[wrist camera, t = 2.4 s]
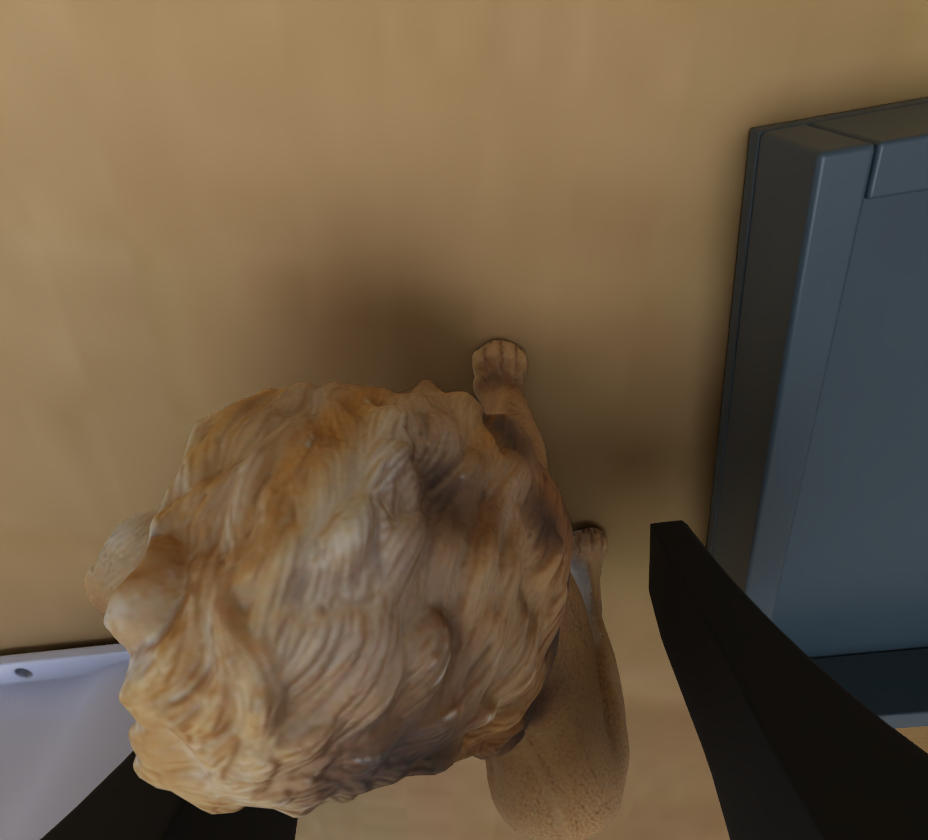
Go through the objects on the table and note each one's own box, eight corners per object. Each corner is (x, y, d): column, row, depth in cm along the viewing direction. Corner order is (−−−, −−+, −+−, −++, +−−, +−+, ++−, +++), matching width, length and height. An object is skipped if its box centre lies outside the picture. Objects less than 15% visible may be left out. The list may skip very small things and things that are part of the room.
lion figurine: (219, 311, 12) (-183, 771, 5) (434, 174, 10) (356, 531, 3) (532, 665, 19) (574, 1070, 12) (687, 615, 18) (850, 1044, 10)
